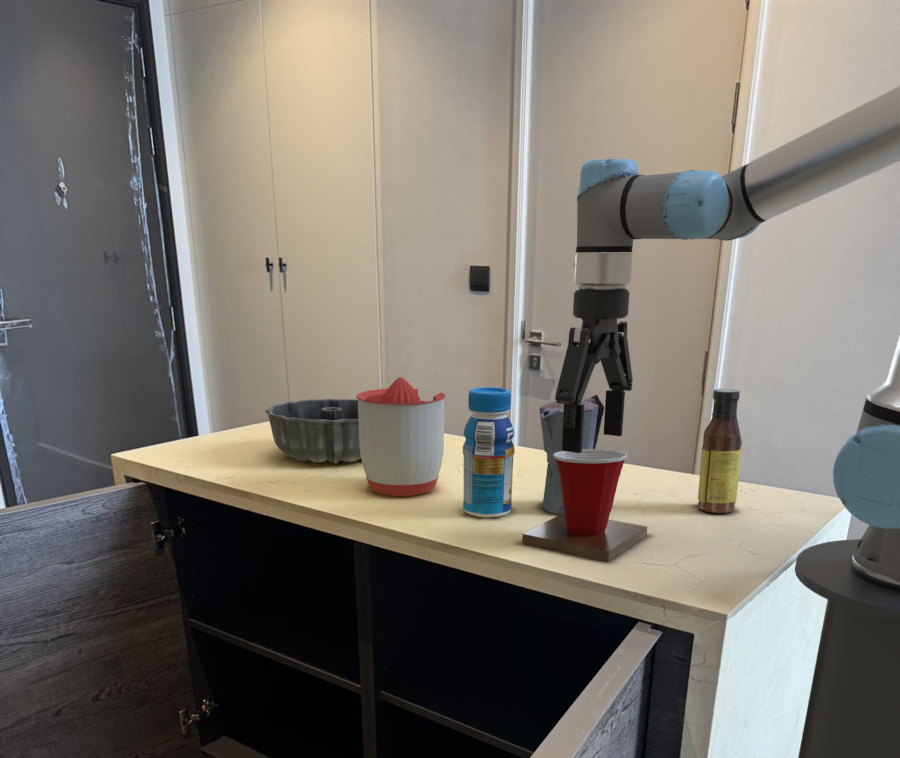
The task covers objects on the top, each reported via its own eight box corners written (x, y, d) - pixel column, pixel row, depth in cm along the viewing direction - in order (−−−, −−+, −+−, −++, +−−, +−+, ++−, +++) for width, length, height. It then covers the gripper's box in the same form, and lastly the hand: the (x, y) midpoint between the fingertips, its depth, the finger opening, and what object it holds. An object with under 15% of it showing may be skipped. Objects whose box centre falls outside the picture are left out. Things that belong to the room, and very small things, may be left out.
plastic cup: (600, 516, 137) (606, 441, 132) (635, 537, 127) (642, 457, 122) (538, 523, 133) (541, 446, 129) (568, 544, 124) (573, 462, 119)
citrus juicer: (469, 486, 159) (470, 375, 151) (402, 506, 147) (400, 387, 139) (409, 472, 168) (407, 367, 161) (341, 489, 157) (336, 377, 149)
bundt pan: (363, 437, 198) (361, 393, 194) (419, 461, 177) (418, 412, 173) (252, 450, 185) (248, 403, 182) (298, 477, 165) (295, 425, 161)
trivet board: (646, 535, 133) (647, 526, 132) (608, 561, 122) (609, 551, 121) (565, 520, 140) (565, 511, 139) (522, 543, 129) (522, 533, 128)
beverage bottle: (451, 510, 145) (452, 389, 137) (490, 501, 150) (493, 384, 142) (483, 522, 139) (486, 396, 131) (522, 513, 143) (527, 391, 136)
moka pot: (517, 511, 144) (521, 390, 137) (571, 493, 155) (578, 379, 147) (564, 523, 138) (571, 396, 131) (617, 503, 149) (626, 385, 141)
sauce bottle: (742, 510, 145) (759, 390, 137) (718, 517, 142) (734, 394, 134) (711, 502, 150) (725, 385, 142) (687, 507, 147) (700, 389, 139)
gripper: (614, 283, 128) (605, 426, 136) (532, 290, 109) (528, 455, 117) (662, 284, 125) (650, 431, 133) (586, 291, 105) (577, 462, 113)
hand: (593, 443), depth 125 cm, fingers open, 13 cm apart
